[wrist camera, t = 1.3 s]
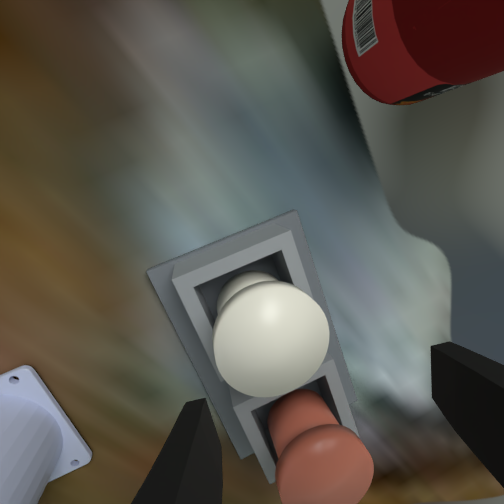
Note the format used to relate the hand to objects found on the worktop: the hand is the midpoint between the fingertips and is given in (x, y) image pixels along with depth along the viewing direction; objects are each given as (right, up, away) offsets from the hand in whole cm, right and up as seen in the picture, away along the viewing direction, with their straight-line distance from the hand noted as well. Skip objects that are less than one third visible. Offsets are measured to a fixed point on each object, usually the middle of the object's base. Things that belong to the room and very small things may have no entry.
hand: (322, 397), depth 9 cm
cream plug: (-2, +2, +7) cm, 8 cm away
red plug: (+1, -6, +10) cm, 11 cm away
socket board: (-1, -2, +12) cm, 12 cm away
